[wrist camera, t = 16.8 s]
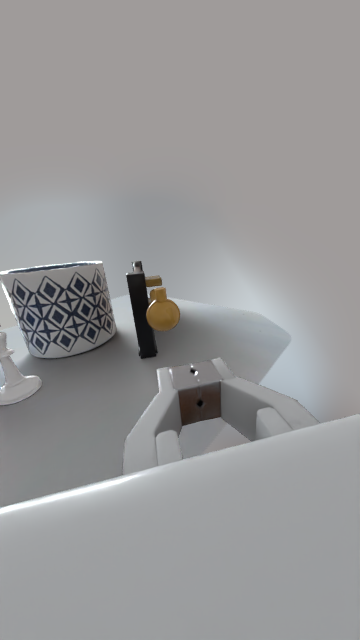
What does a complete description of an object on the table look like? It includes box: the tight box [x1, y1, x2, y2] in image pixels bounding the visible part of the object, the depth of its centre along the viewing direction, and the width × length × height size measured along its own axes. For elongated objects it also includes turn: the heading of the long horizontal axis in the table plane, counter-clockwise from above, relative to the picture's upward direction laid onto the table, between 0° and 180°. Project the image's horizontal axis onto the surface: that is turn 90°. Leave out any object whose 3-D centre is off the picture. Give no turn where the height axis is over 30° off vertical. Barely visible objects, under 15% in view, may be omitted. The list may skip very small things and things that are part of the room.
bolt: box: [146, 287, 180, 331], centre depth 22 cm, size 11×3×4 cm, turn 11°
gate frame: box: [126, 261, 162, 359], centre depth 42 cm, size 29×5×13 cm, turn 11°
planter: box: [0, 262, 116, 358], centre depth 38 cm, size 16×16×14 cm
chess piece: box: [0, 325, 42, 405], centre depth 24 cm, size 5×5×10 cm
